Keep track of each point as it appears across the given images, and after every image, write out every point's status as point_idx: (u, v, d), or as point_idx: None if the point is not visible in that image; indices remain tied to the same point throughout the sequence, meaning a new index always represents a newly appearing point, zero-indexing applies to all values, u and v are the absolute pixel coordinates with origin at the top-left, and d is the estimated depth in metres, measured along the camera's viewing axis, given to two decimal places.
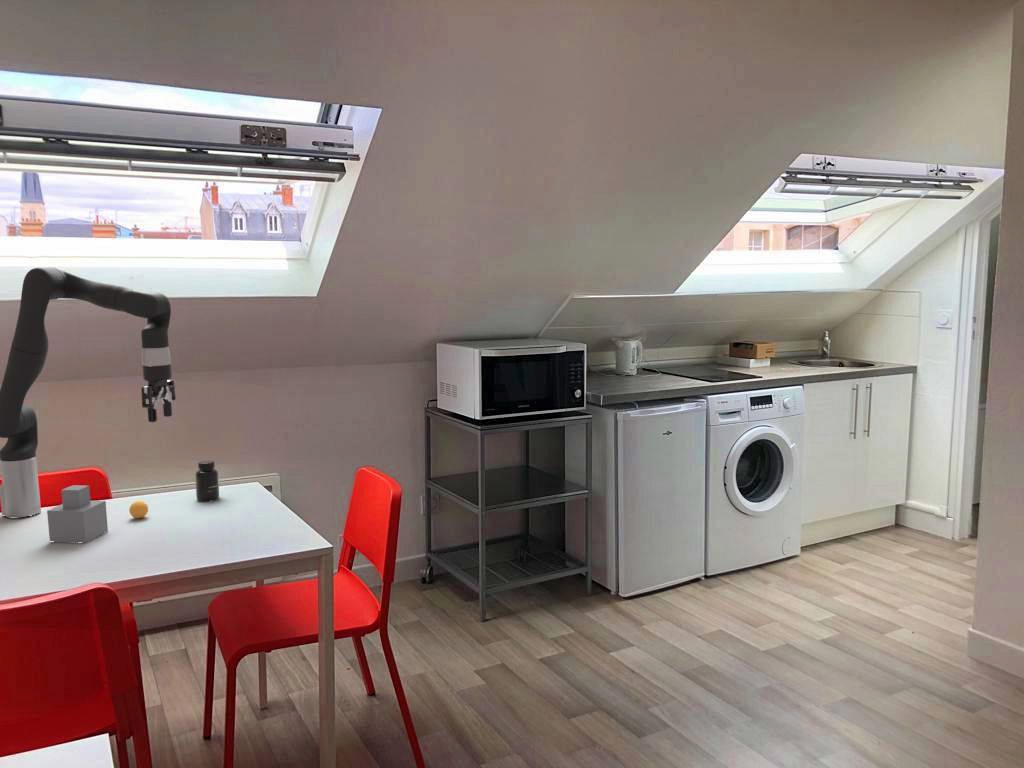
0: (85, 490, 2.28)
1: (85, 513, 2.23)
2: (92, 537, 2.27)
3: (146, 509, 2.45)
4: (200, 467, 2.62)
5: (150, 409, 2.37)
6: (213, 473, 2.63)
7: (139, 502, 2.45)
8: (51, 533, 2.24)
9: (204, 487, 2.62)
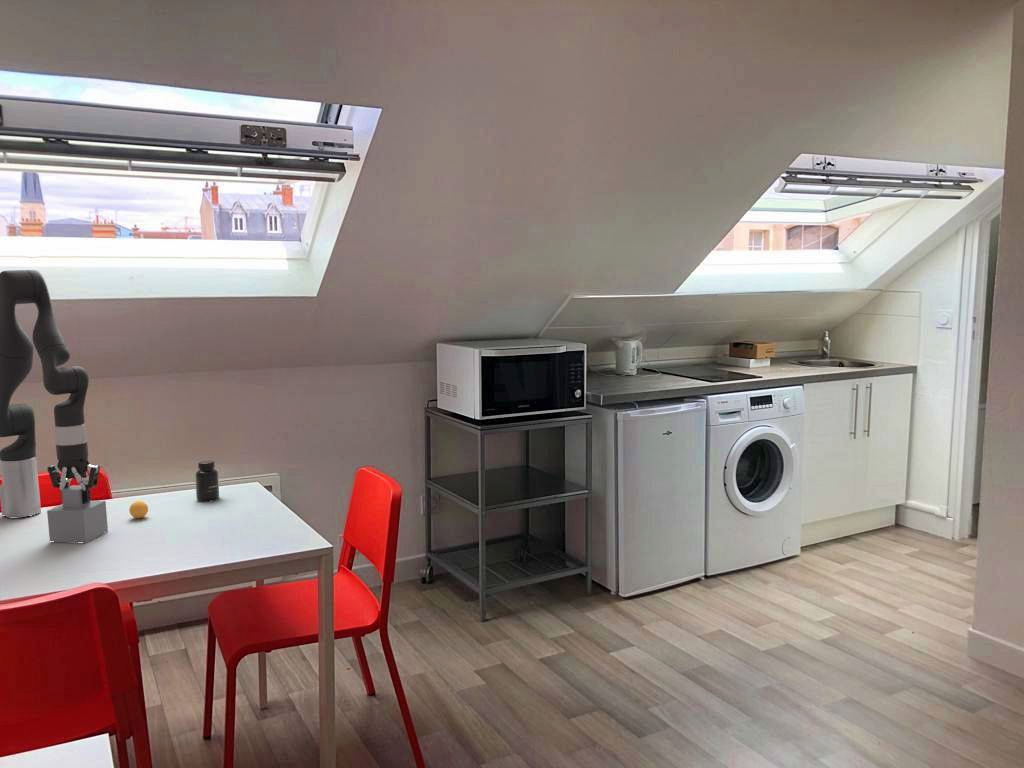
0: None
1: (85, 513, 2.23)
2: (92, 537, 2.27)
3: (146, 509, 2.45)
4: (200, 467, 2.62)
5: (89, 489, 2.27)
6: (213, 473, 2.63)
7: (139, 502, 2.45)
8: (51, 533, 2.24)
9: (204, 487, 2.62)
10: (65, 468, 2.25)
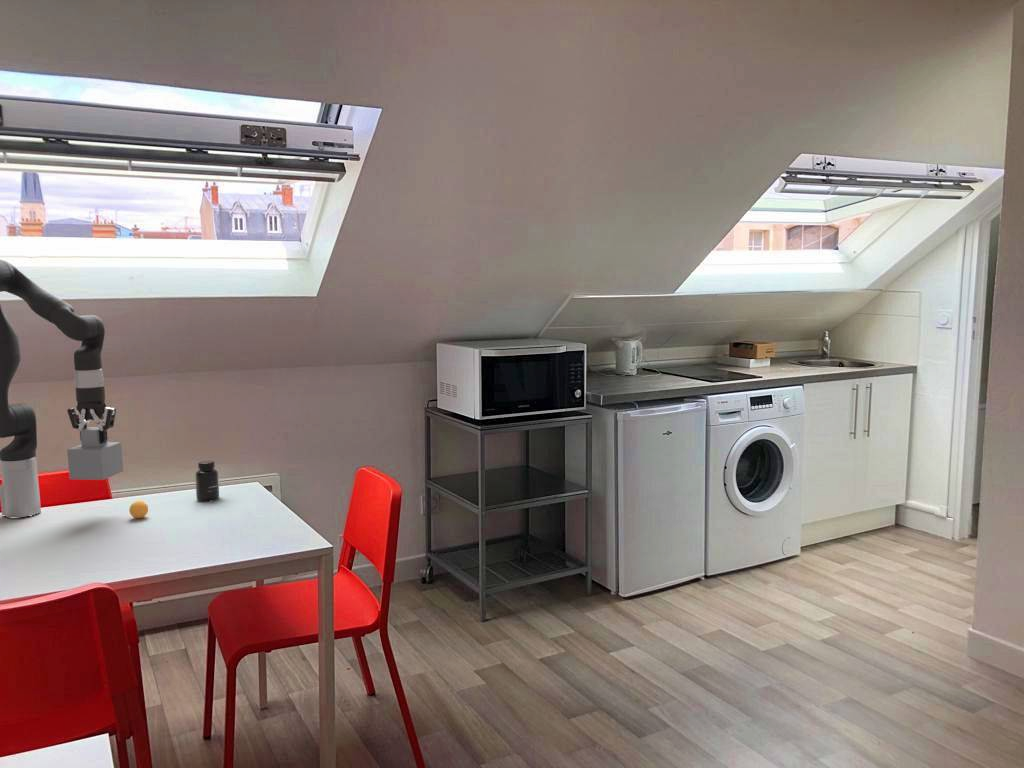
0: None
1: (102, 451, 2.40)
2: (109, 474, 2.43)
3: (146, 509, 2.45)
4: (200, 467, 2.62)
5: (106, 430, 2.44)
6: (213, 473, 2.63)
7: (139, 502, 2.45)
8: (71, 471, 2.41)
9: (204, 487, 2.62)
10: (84, 410, 2.41)
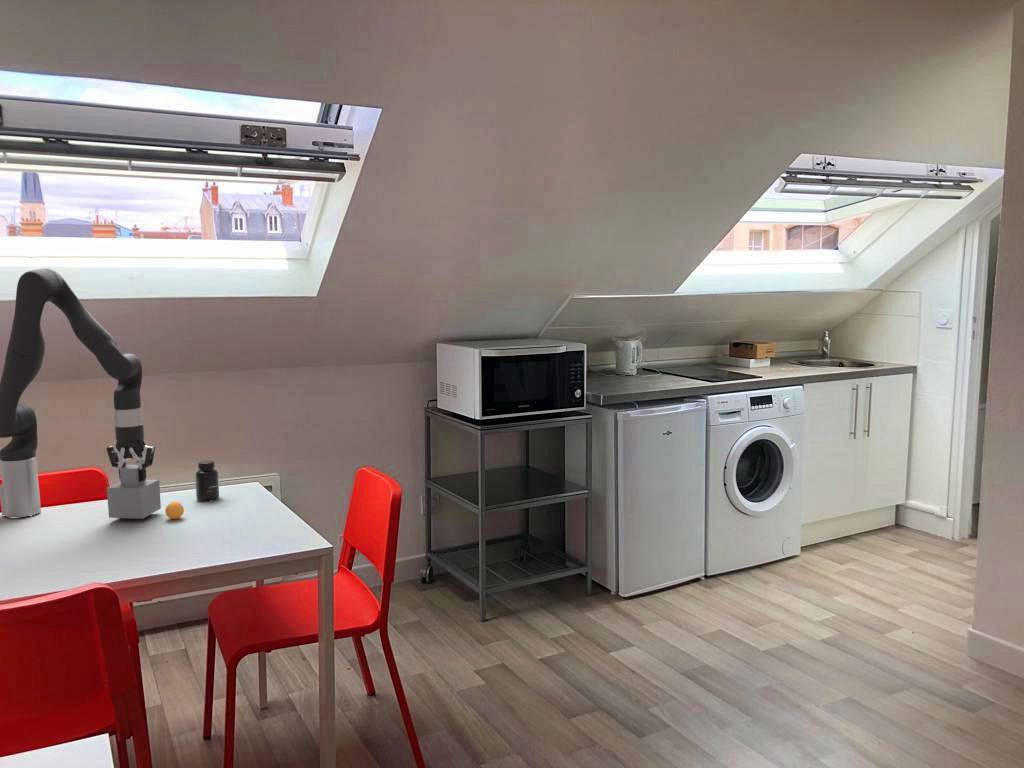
0: None
1: (142, 490, 2.40)
2: (148, 513, 2.43)
3: (170, 503, 2.44)
4: (200, 467, 2.62)
5: (145, 468, 2.44)
6: (213, 473, 2.63)
7: None
8: (110, 509, 2.41)
9: (204, 487, 2.62)
10: (123, 448, 2.42)
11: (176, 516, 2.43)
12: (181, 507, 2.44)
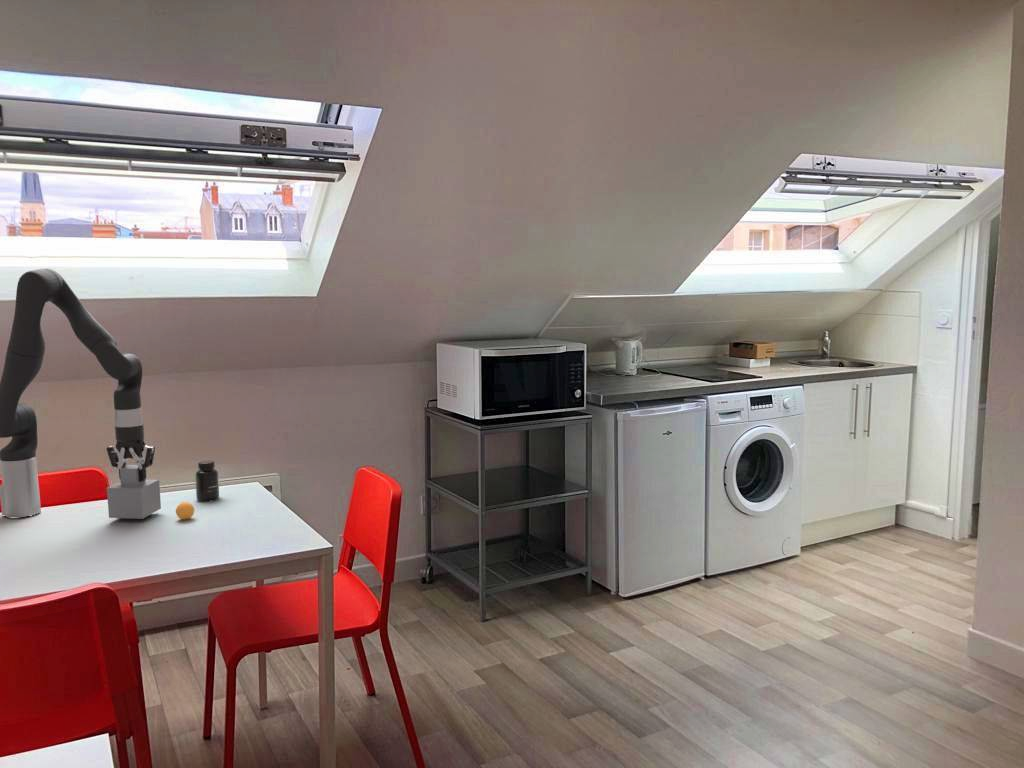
0: None
1: (142, 490, 2.40)
2: (148, 513, 2.43)
3: (190, 505, 2.44)
4: (200, 467, 2.62)
5: (145, 468, 2.44)
6: (213, 473, 2.63)
7: None
8: (110, 509, 2.41)
9: (204, 487, 2.62)
10: (123, 448, 2.42)
11: (180, 517, 2.43)
12: (190, 517, 2.44)
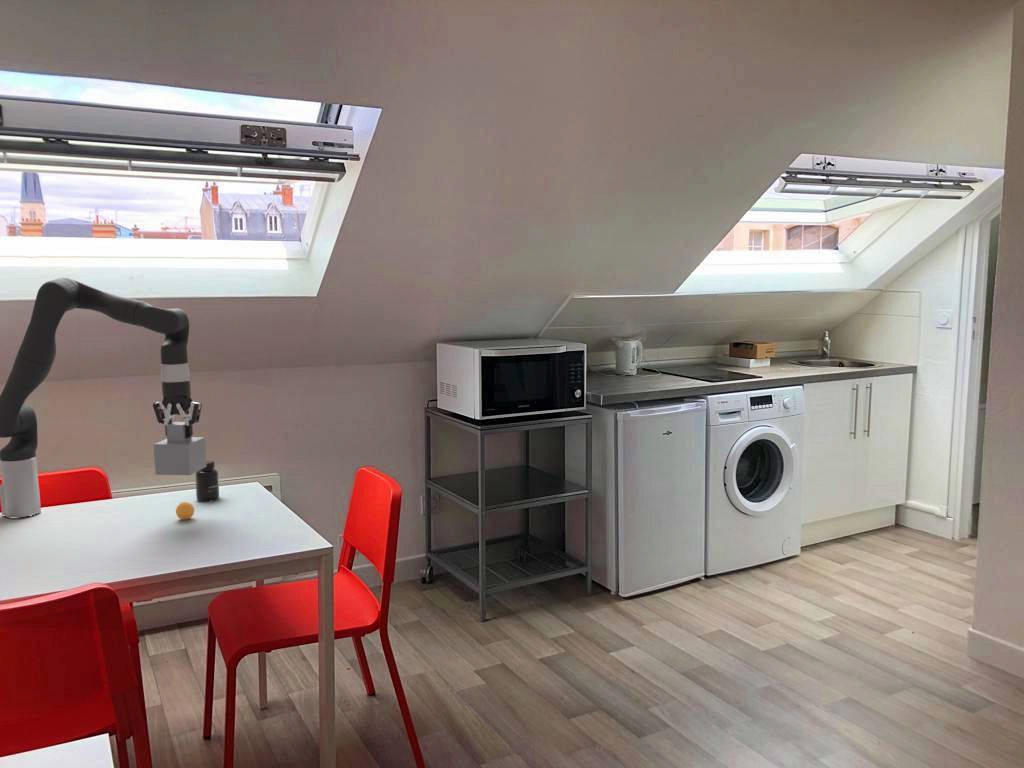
0: None
1: (189, 446, 2.37)
2: (194, 470, 2.40)
3: (190, 505, 2.44)
4: None
5: (191, 425, 2.41)
6: (213, 473, 2.63)
7: None
8: (157, 466, 2.38)
9: (204, 487, 2.62)
10: (170, 404, 2.38)
11: (180, 517, 2.43)
12: (190, 517, 2.44)
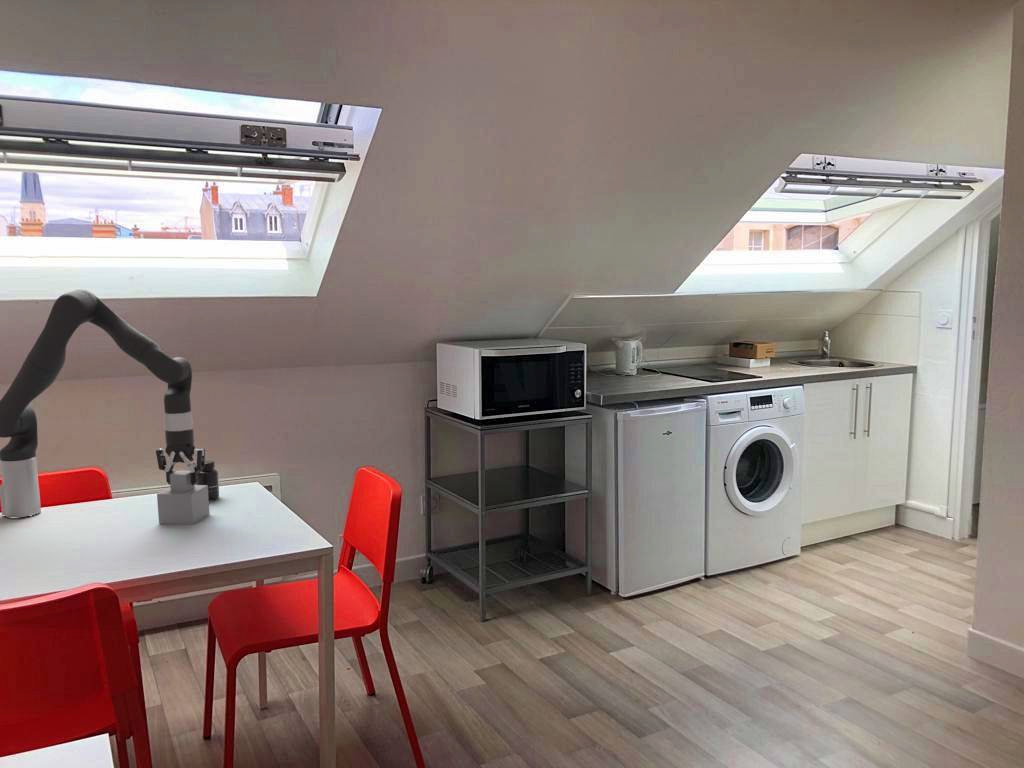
0: None
1: (192, 496, 2.39)
2: (198, 519, 2.42)
3: None
4: None
5: (197, 471, 2.43)
6: (213, 473, 2.63)
7: None
8: (160, 515, 2.40)
9: None
10: (173, 453, 2.40)
11: None
12: None
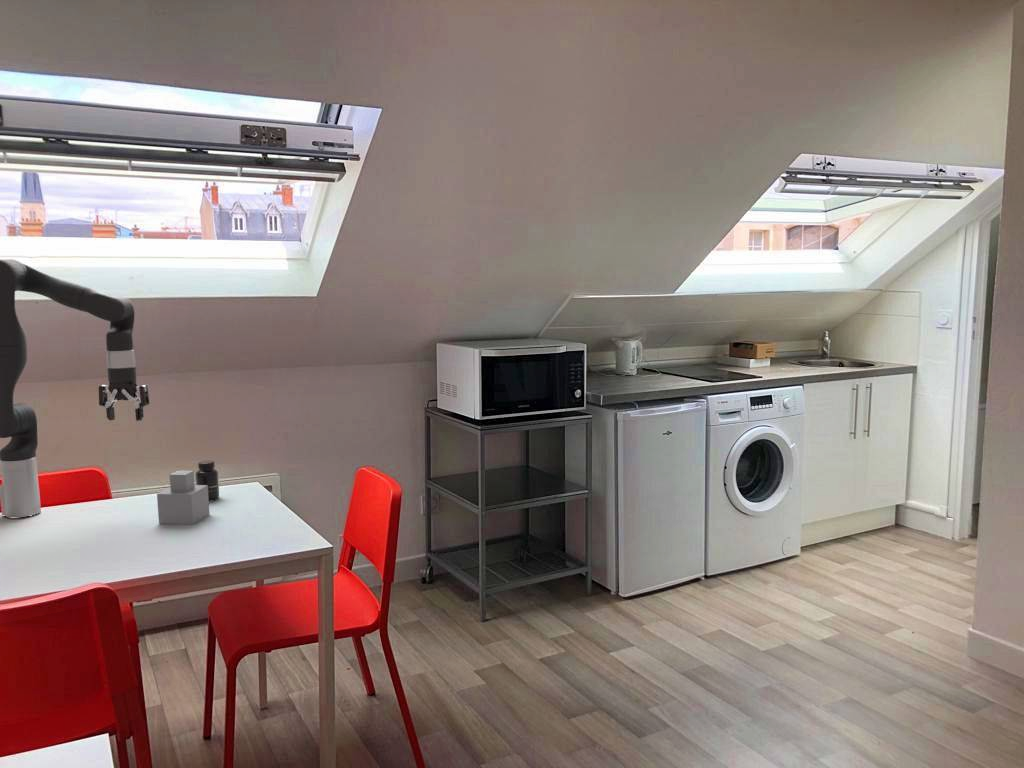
0: (191, 475, 2.43)
1: (192, 496, 2.39)
2: (198, 519, 2.42)
3: None
4: (200, 467, 2.62)
5: (142, 407, 2.47)
6: (213, 473, 2.63)
7: None
8: (160, 515, 2.40)
9: None
10: (116, 390, 2.45)
11: None
12: None
